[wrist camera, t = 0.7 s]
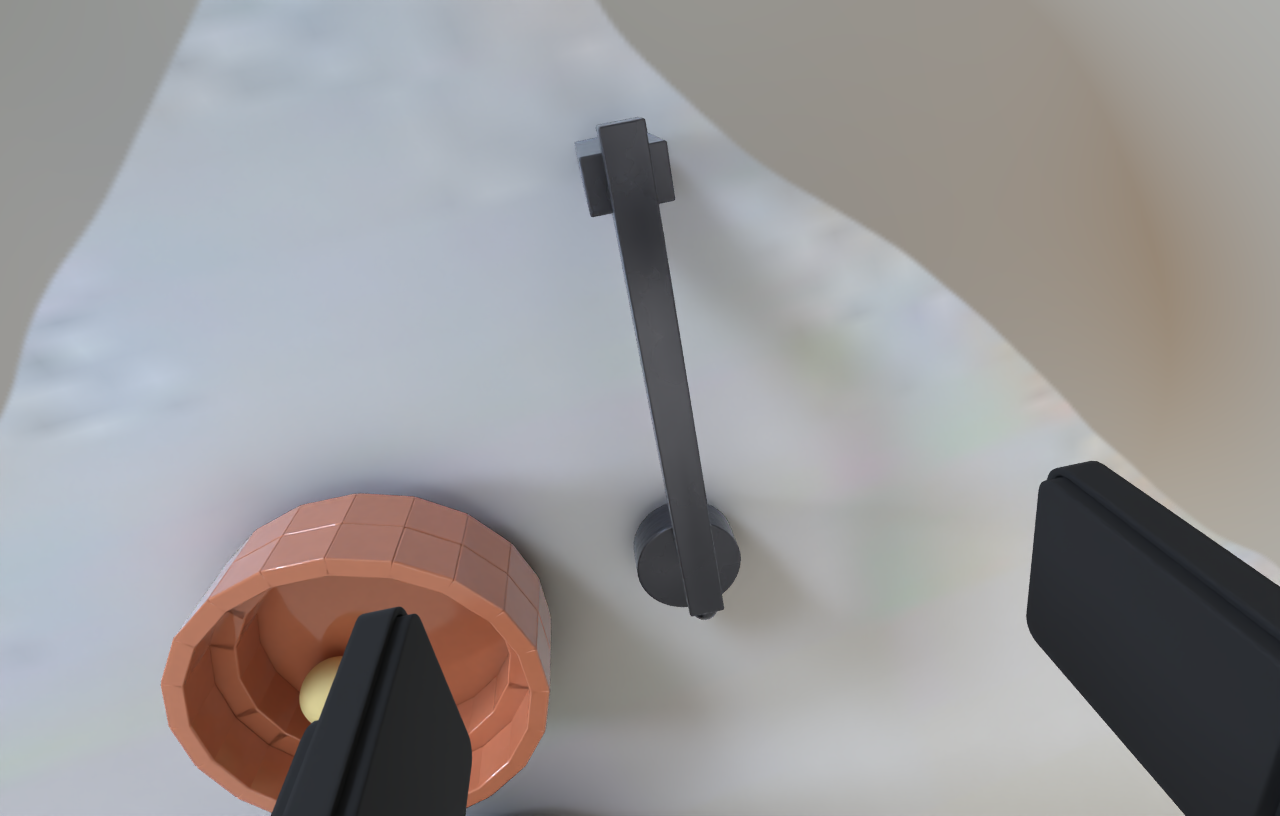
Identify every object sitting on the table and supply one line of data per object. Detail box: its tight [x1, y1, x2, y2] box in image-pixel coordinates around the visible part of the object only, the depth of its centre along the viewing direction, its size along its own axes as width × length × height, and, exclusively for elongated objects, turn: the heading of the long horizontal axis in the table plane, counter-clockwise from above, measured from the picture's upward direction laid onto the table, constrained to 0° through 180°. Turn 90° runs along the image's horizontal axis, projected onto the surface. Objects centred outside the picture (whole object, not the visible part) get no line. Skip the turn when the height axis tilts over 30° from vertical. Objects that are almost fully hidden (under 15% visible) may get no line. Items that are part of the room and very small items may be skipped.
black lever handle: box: [575, 117, 741, 620], centre depth 25 cm, size 21×5×8 cm, turn 10°
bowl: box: [161, 493, 551, 813], centre depth 30 cm, size 15×15×5 cm
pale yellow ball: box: [299, 656, 343, 723], centre depth 31 cm, size 3×3×3 cm
